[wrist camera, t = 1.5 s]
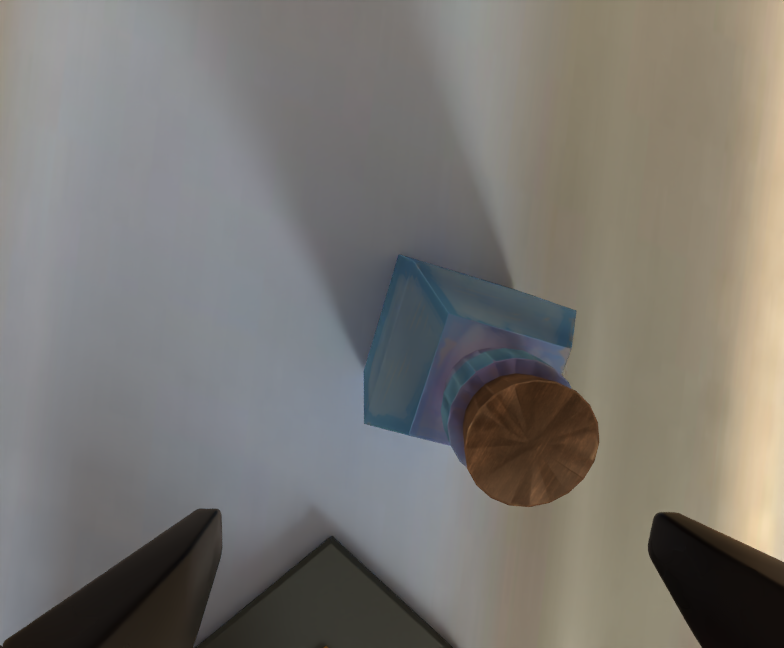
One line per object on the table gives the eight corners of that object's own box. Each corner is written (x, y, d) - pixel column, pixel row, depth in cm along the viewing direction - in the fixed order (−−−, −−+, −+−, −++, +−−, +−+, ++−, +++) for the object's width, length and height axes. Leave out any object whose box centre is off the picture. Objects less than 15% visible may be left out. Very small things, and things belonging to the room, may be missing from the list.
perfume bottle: (398, 254, 20) (447, 277, 9) (515, 289, 21) (705, 355, 9) (363, 370, 21) (364, 532, 10) (475, 400, 22) (602, 584, 10)
